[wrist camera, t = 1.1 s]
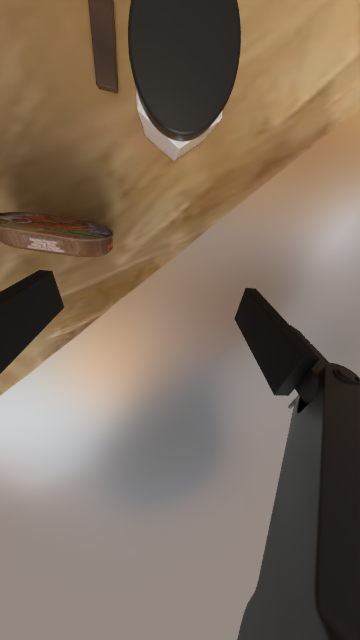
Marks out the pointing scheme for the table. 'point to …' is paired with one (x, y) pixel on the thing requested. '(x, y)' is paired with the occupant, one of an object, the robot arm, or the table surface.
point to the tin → (54, 234)
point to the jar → (183, 67)
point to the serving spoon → (104, 44)
